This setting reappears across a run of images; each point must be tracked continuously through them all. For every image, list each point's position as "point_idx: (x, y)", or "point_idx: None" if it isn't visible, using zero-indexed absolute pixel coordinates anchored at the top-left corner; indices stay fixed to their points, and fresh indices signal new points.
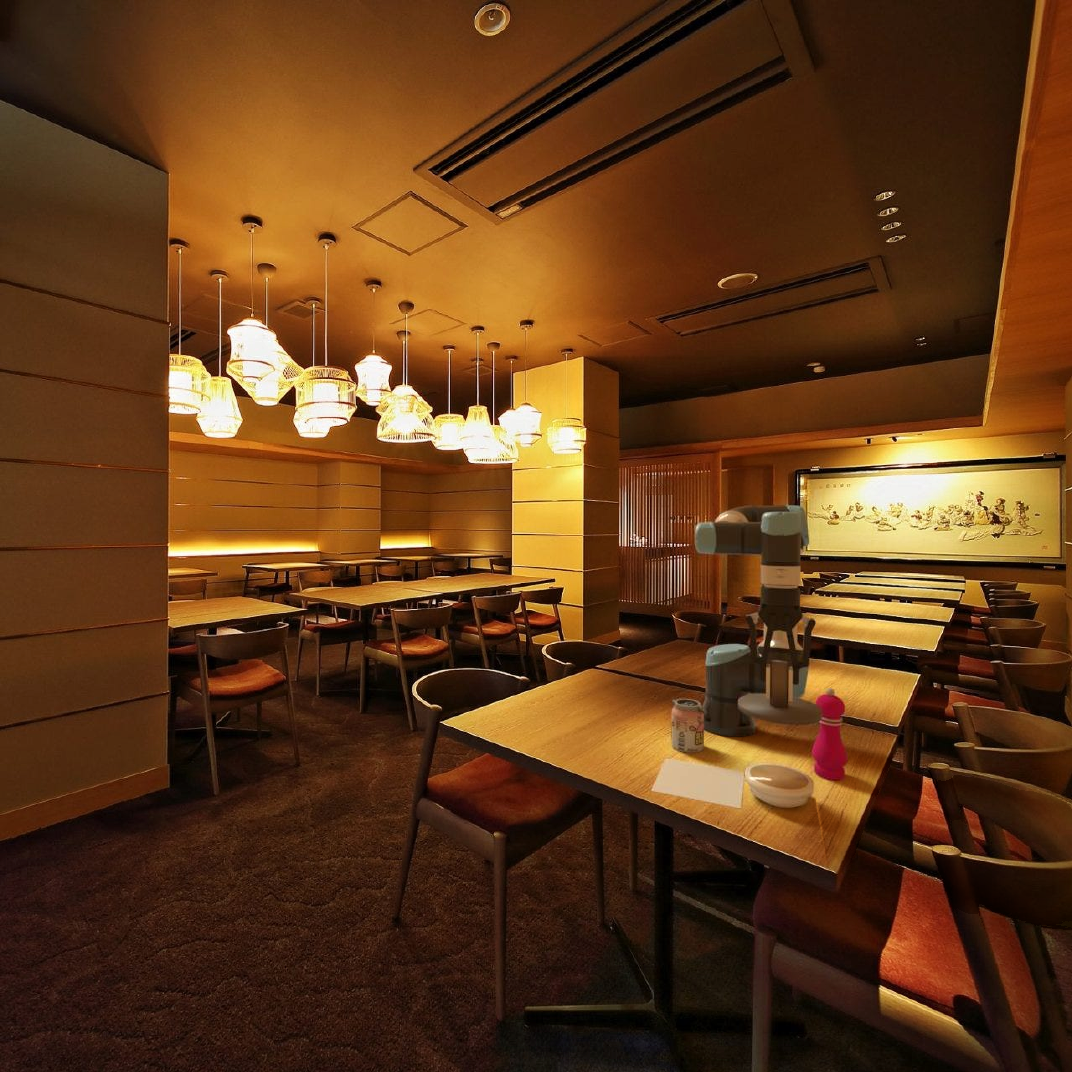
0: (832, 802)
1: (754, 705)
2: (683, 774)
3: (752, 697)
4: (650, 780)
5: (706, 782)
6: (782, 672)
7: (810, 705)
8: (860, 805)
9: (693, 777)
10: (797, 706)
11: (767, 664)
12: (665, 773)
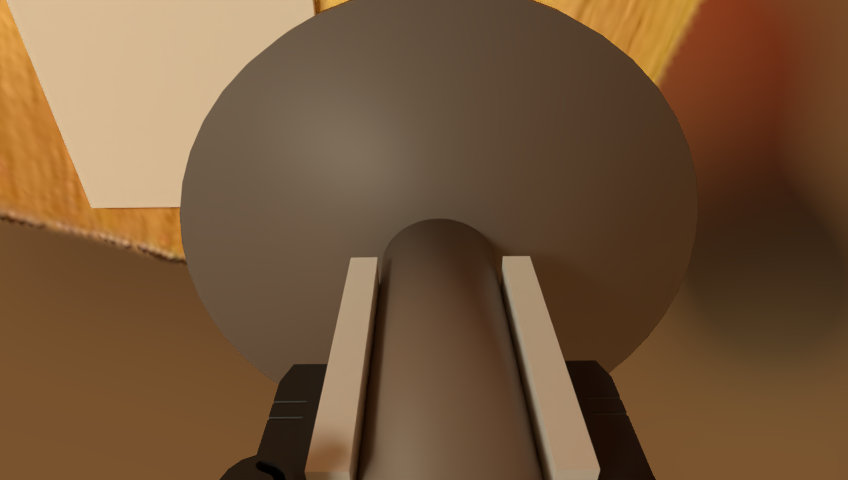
0: (597, 29)
1: (302, 321)
2: (113, 54)
3: (256, 173)
4: (45, 124)
5: (205, 84)
6: None
7: (645, 190)
8: (684, 11)
9: (153, 64)
10: (551, 245)
11: (317, 470)
12: (59, 75)
